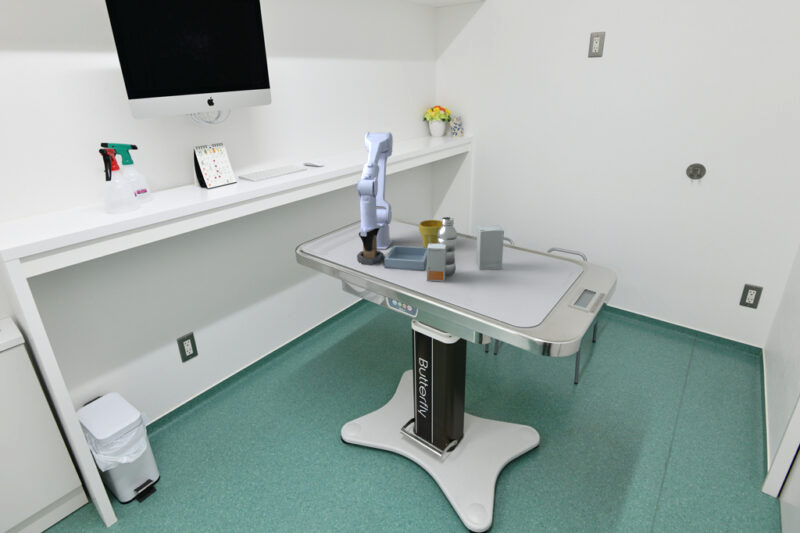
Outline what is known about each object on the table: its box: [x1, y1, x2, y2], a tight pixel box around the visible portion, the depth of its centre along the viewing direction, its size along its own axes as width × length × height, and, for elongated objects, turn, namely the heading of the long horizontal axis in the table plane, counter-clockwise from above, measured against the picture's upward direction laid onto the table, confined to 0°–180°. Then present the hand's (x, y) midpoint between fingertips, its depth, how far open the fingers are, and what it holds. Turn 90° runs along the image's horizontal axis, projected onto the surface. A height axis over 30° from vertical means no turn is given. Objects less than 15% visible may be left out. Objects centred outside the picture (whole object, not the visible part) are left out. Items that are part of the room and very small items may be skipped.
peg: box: [362, 236, 378, 258], centre depth 166 cm, size 4×4×8 cm
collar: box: [356, 249, 385, 266], centre depth 167 cm, size 9×9×2 cm
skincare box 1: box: [426, 244, 446, 283], centre depth 149 cm, size 6×4×12 cm
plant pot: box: [418, 219, 443, 248], centre depth 179 cm, size 10×10×10 cm
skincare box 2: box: [476, 224, 505, 271], centre depth 158 cm, size 8×6×15 cm
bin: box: [384, 245, 427, 272], centre depth 165 cm, size 14×14×4 cm
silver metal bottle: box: [438, 216, 458, 277], centre depth 151 cm, size 6×7×20 cm
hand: (370, 248), depth 166 cm, fingers closed on peg, 4 cm apart
